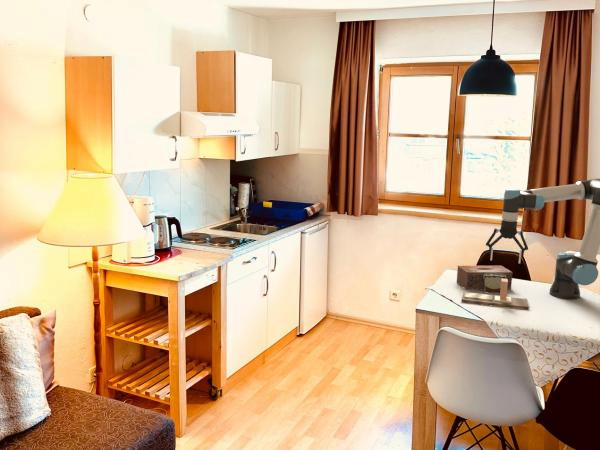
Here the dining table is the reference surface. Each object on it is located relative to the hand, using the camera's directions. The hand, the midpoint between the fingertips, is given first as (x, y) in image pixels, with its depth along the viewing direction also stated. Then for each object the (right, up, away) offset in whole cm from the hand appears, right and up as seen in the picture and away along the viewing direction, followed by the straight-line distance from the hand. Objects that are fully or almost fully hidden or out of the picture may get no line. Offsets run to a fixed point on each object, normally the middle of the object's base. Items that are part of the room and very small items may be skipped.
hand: (505, 261), depth 304 cm
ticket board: (-4, -21, +4) cm, 22 cm away
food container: (+1, -18, +23) cm, 29 cm away
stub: (0, -20, +2) cm, 20 cm away
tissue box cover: (-1, -16, +34) cm, 37 cm away
